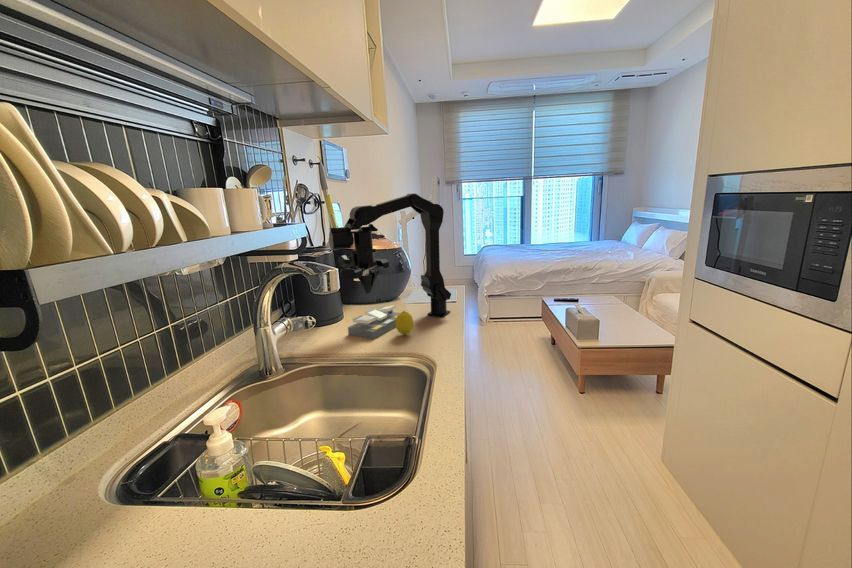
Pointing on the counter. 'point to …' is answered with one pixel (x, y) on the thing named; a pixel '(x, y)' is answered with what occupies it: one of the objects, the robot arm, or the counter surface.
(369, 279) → the robot arm
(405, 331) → the lemon
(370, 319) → the switch
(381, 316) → the switch middle
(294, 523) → the counter surface
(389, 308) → the switch
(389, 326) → the switch panel
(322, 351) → the counter surface
